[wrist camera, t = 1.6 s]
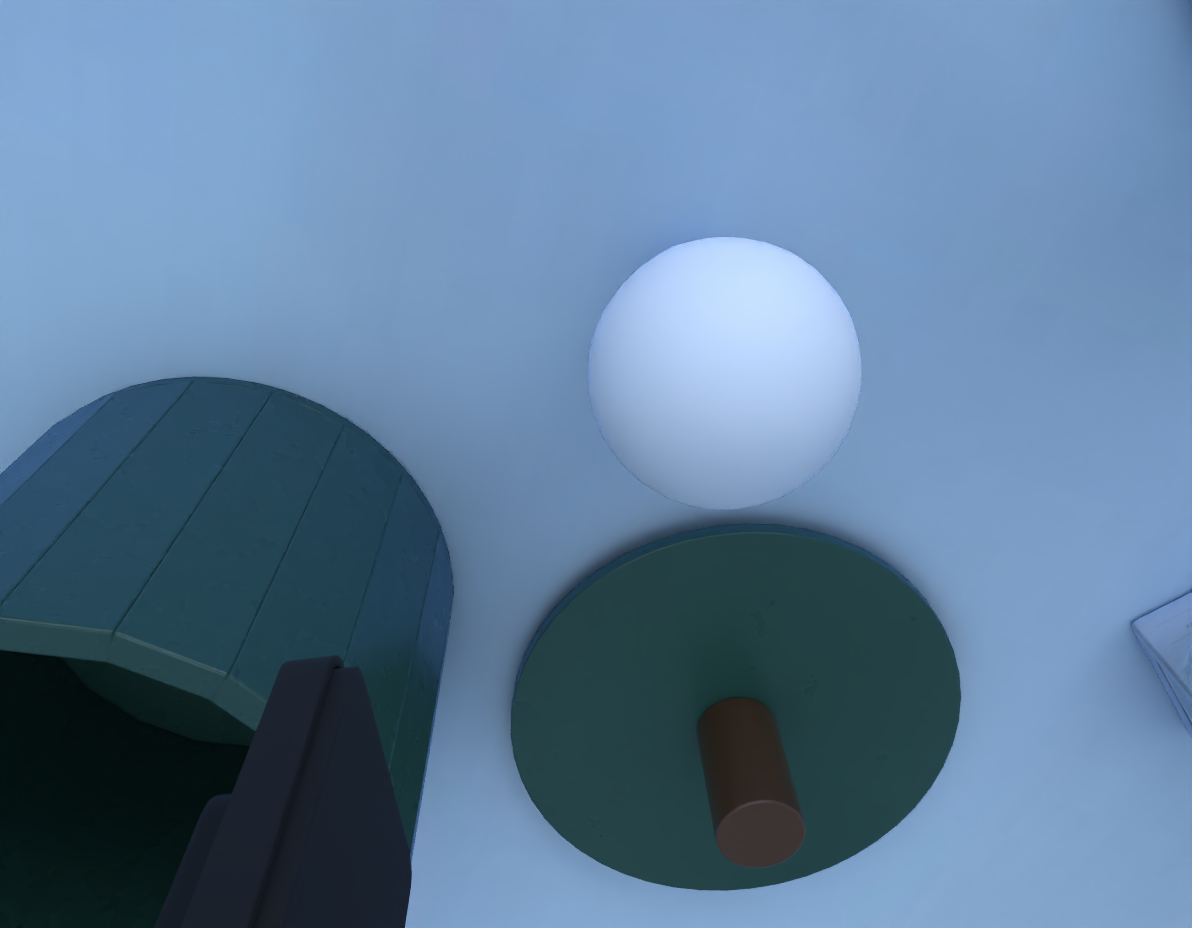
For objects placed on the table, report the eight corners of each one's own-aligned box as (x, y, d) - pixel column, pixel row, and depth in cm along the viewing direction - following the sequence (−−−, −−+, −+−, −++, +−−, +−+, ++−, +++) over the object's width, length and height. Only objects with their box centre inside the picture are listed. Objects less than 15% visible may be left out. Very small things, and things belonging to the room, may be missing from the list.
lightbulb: (830, 263, 31) (960, 406, 21) (692, 412, 33) (751, 609, 23) (674, 126, 29) (736, 213, 19) (538, 293, 31) (529, 451, 21)
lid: (951, 482, 34) (1027, 585, 28) (948, 838, 41) (1010, 977, 35) (473, 550, 35) (456, 664, 29) (550, 890, 41) (549, 1035, 36)
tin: (399, 343, 31) (304, 571, 20) (489, 723, 38) (459, 1067, 26) (-71, 413, 32) (-438, 677, 20) (96, 777, 38) (-109, 1137, 26)
